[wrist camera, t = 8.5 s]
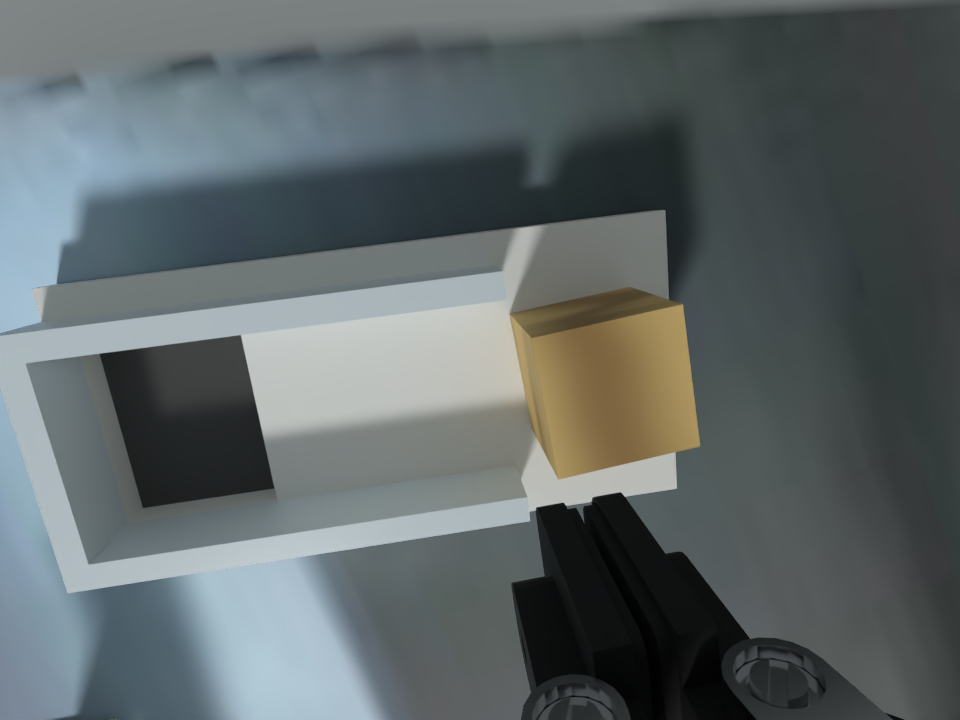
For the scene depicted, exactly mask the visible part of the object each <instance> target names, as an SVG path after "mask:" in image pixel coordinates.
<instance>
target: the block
mask: <svg viewBox="0 0 960 720" xmlns="http://www.w3.org/2000/svg"><path fill="white" fill-rule="evenodd" d="M509 315H510V321H511V326H512V331H513V336H514V341H515V346H516V351H517V356H518V361H519V366H520V371H521V376H522V382H523V387H524V392H525V397H526V402H527V407H528V412H529V417H530V422H531V427H532V430H533V432H534V434H535V436H536V438H537V440H538V442H539V444H540V446H541V447H542V449H543V451H544V453H545V455H546V457H547V459H548V461H549V463H550V465H551V467H552V469H553V470H554V472H555V474H556V476H557V478H558V480H559V479H563V478H568V477H572V476H576V475H580V474H585V473H589V472H593V471H597V470H602V469H606V468H610V467H614V466H619V465H623V464H627V463H631V462H636V461H640V460H644V459H648V458H653V457H657V456H661V455H665V454H670V453H674V452H678V451H682V450H687V449H691V448H695V447H699V446H700V441H699V433H698V425H697V417H696V408H695V400H694V392H693V384H692V376H691V367H690V359H689V351H688V343H687V335H686V326H685V318H684V310H683V304H680V303H677V302H674V301H671V300H668V299H665V298H662V297H659V296H656V295H653V294H650V293H647V292H644V291H641V290H638V289H635V288H632V287H627V288H622V289H618V290H613V291H609V292H604V293H600V294H595V295H591V296H586V297H582V298H577V299H573V300H568V301H564V302H559V303H555V304H550V305H546V306H541V307H537V308H532V309H528V310H523V311H519V312H514V313H510V314H509Z"/></svg>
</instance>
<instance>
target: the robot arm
mask: <svg viewBox="0 0 960 720" xmlns="http://www.w3.org/2000/svg"><path fill="white" fill-rule="evenodd" d="M583 513H584V522H585V524H584V522H583V520H582V518H581V516H580V514H579V512H578V510H577V509H576V508H572V509H567V507H566V505H565V504H564V503H558V504H552V505H547V506H541V507H536V517H537V524H538V532H539V539H540V546H541V553H542V560H543V567H544V574H545V577H540V578H535V579H529V580H524V581H518V582H513V583H512V584H511V585H512V593H513V600H514V606H515V613H516V619H517V625H518V631H519V637H520V642H521V647H522V653H523V658H524V663H525V667H526V672H527V676H528V681H529V685H530V690H531V694H530V695H529V697H528V699H527V700H526V702H525V704H524V705H523V710H522V716H521V720H904V719H901V718H898V717H895V716H893V715H890V714H887V713H884V712H883V711H882V710H881V709H880V708H879V707H877V706H876V705H875V704H874V703H873V702H872V701H871V700H869V699H868V698H867V697H866V696H865V695H864V694H863V693H861V692H860V691H859V690H858V689H857V688H856V687H855V686H853V685H852V684H851V683H850V682H849V681H848V680H847V679H845V678H844V677H843V676H842V675H841V674H840V673H838V672H837V671H836V670H835V669H834V668H833V667H832V666H830V665H829V664H828V663H827V662H826V661H825V660H824V659H822V658H821V657H819V656H818V655H816V654H815V653H814V652H812V651H811V650H809V649H807V648H805V647H803V646H800V645H798V644H796V643H793V642H790V641H786V640H781V639H777V638H759V637H758V638H753V639H750V638H749V637H748V635H747V634H746V633H745V632H744V630H743V629H742V628H741V626H740V625H739V624H738V623H737V621H736V620H735V619H734V617H733V616H732V615H731V613H730V612H729V611H728V610H727V608H726V607H725V606H724V604H723V603H722V602H721V600H720V599H719V598H718V597H717V595H716V594H715V593H714V591H713V590H712V589H711V587H710V586H709V585H708V584H707V582H706V581H705V580H704V578H703V577H702V576H701V574H700V573H699V572H698V571H697V569H696V568H695V567H694V565H693V564H692V563H691V562H690V560H689V559H688V558H687V556H686V555H685V554H684V553H683V552H673V553H668V554H665V553H664V551H663V550H662V548H661V547H660V546H659V544H658V543H657V541H656V540H655V539H654V537H653V536H652V534H651V533H650V532H649V530H648V529H647V527H646V526H645V525H644V523H643V522H642V520H641V519H640V518H639V516H638V515H637V513H636V512H635V511H634V509H633V508H632V506H631V505H630V504H629V502H628V501H627V499H626V498H625V497H624V495H623V494H622V493H621V492H619V493H613V494H608V495H602V496H596V497H593V498H592V505H589V506H584V508H583Z"/></svg>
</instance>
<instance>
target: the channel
mask: <svg viewBox="0 0 960 720" xmlns="http://www.w3.org/2000/svg"><path fill="white" fill-rule="evenodd" d="M627 287H632V288H635V289H638V290H641V291H644V292H647V293H650V294H653V295H656V296H659V297H662V298H665V299H668V300H669V286H668V261H667V237H666V213H665V210H651V211H643V212H635V213H627V214H619V215H610V216H602V217H594V218H586V219H578V220H570V221H562V222H554V223H546V224H538V225H530V226H522V227H514V228H506V229H498V230H489V231H481V232H473V233H465V234H457V235H449V236H441V237H433V238H425V239H417V240H409V241H401V242H393V243H385V244H377V245H369V246H360V247H352V248H344V249H336V250H328V251H320V252H312V253H304V254H296V255H288V256H280V257H272V258H264V259H256V260H248V261H239V262H231V263H223V264H215V265H207V266H199V267H191V268H183V269H175V270H167V271H159V272H151V273H143V274H135V275H127V276H118V277H110V278H102V279H94V280H86V281H78V282H70V283H62V284H54V285H49V286H44V287H38V288H33V289H31V290H32V293H33V296H34V300H35V303H36V306H37V309H38V313H39V316H40V319H41V322H40V323H36V324H33V325H29V326H25V327H22V328H18V329H14V330H11V331H7V332H4V333H0V389H1V392H2V395H3V398H4V401H5V404H6V407H7V410H8V413H9V416H10V419H11V422H12V425H13V428H14V431H15V434H16V437H17V440H18V443H19V447H20V450H21V453H22V456H23V459H24V462H25V465H26V468H27V471H28V474H29V477H30V480H31V483H32V486H33V489H34V492H35V495H36V498H37V501H38V504H39V508H40V511H41V514H42V517H43V520H44V523H45V526H46V529H47V532H48V535H49V538H50V541H51V544H52V547H53V550H54V553H55V556H56V559H57V562H58V566H59V569H60V572H61V575H62V578H63V581H64V584H65V587H66V590H67V593H74V592H80V591H87V590H93V589H99V588H106V587H112V586H118V585H125V584H131V583H138V582H144V581H150V580H157V579H163V578H170V577H176V576H182V575H189V574H195V573H202V572H208V571H214V570H221V569H227V568H233V567H240V566H246V565H253V564H259V563H265V562H272V561H278V560H285V559H291V558H297V557H304V556H310V555H316V554H323V553H329V552H336V551H342V550H348V549H355V548H361V547H368V546H374V545H380V544H387V543H393V542H399V541H406V540H412V539H419V538H425V537H431V536H438V535H444V534H451V533H457V532H463V531H470V530H476V529H483V528H489V527H495V526H502V525H508V524H514V523H521V522H527V521H530V515H529V511H536V507H541V506H547V505H552V504H558V503H564V504H565V505H566V506H568V505H574V504H581V503H587V502H592V498H593V497H596V496H602V495H608V494H613V493H619V492H621V493H622V494H623V495H624V497H626V496H632V495H638V494H645V493H651V492H658V491H664V490H671V489H677V481H676V457H675V452H674V453H670V454H665V455H661V456H657V457H653V458H648V459H644V460H640V461H636V462H631V463H627V464H623V465H619V466H614V467H610V468H606V469H602V470H597V471H593V472H589V473H585V474H580V475H576V476H572V477H568V478H563V479H559V480H558V478H557V476H556V474H555V472H554V470H553V469H552V467H551V465H550V463H549V461H548V459H547V457H546V455H545V453H544V451H543V449H542V447H541V446H540V444H539V442H538V440H537V438H536V436H535V434H534V432H533V430H532V427H531V422H530V417H529V412H528V407H527V402H526V397H525V392H524V387H523V382H522V376H521V371H520V366H519V361H518V356H517V351H516V346H515V341H514V336H513V331H512V326H511V321H510V315H509V314H510V313H514V312H519V311H523V310H528V309H532V308H537V307H541V306H546V305H550V304H555V303H559V302H564V301H568V300H573V299H577V298H582V297H586V296H591V295H595V294H600V293H604V292H609V291H613V290H618V289H622V288H627Z"/></svg>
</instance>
